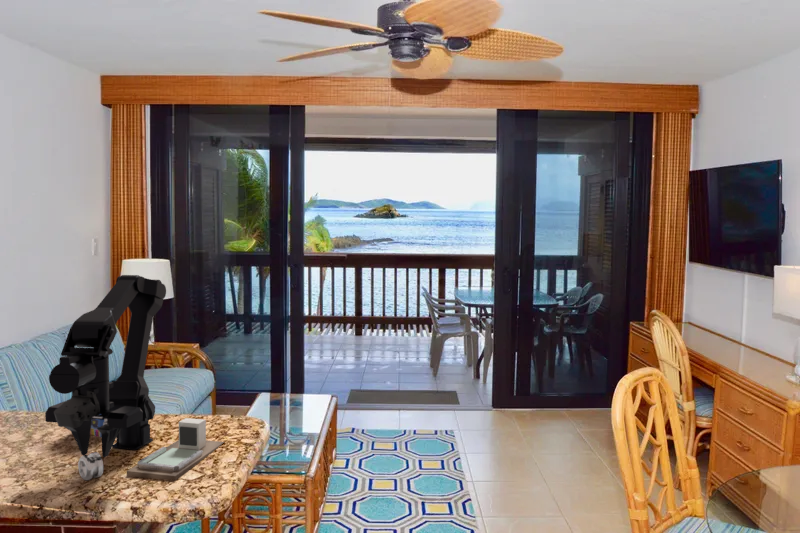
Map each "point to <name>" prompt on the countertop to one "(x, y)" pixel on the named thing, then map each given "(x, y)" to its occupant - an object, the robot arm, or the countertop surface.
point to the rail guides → (162, 467)
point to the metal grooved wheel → (90, 466)
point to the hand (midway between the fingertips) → (95, 455)
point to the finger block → (192, 433)
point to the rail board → (174, 461)
